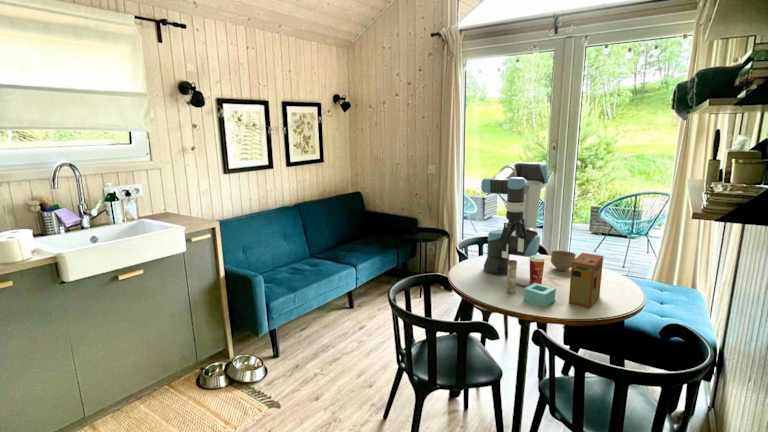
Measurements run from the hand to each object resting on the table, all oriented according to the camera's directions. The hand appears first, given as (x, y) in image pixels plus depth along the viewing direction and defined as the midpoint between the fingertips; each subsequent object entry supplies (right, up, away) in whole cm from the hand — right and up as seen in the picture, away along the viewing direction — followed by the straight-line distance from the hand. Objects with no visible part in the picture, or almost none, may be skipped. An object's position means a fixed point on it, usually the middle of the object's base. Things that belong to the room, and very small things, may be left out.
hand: (512, 254), depth 193 cm
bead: (+10, -21, -5) cm, 24 cm away
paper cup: (+17, -16, +16) cm, 28 cm away
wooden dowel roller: (0, -19, +4) cm, 19 cm away
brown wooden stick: (+7, -17, +14) cm, 22 cm away
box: (+31, -21, -6) cm, 38 cm away
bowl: (+39, -12, +34) cm, 53 cm away
